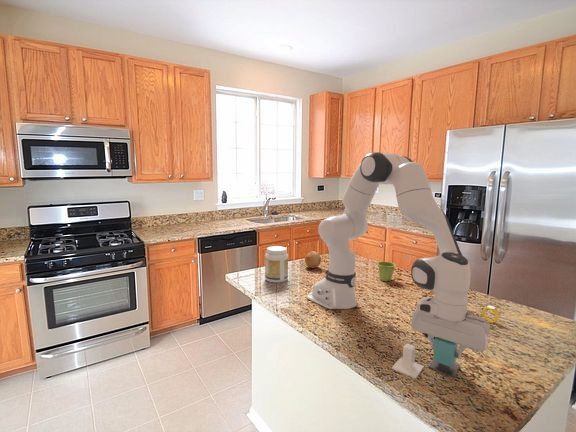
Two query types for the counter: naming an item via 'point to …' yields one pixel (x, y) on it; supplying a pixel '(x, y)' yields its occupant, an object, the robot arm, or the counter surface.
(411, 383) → the counter surface
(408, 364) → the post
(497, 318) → the watch
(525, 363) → the counter surface
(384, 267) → the plant pot
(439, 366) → the post
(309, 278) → the counter surface
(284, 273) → the supplement tub
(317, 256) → the brown round ball
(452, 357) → the teal rectangular block
